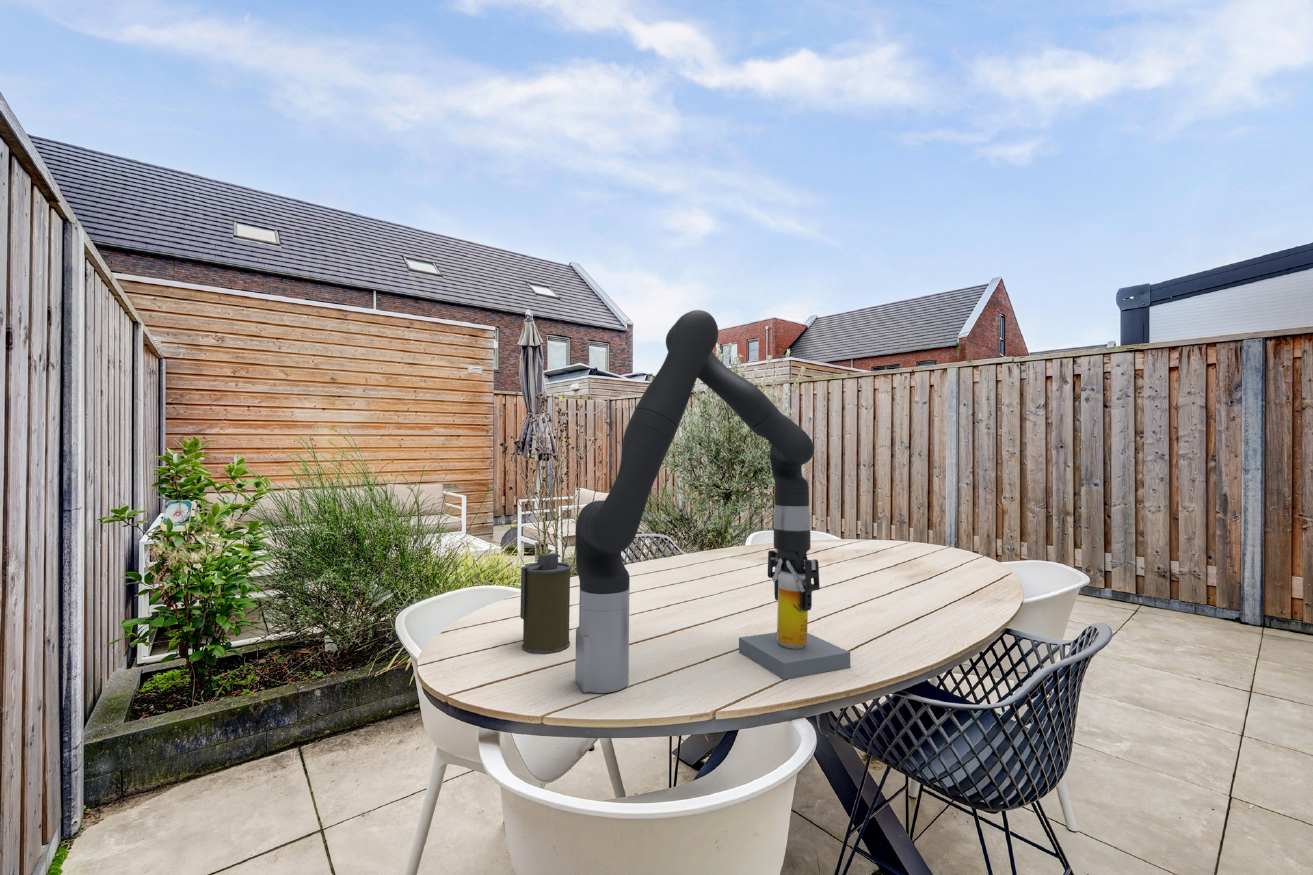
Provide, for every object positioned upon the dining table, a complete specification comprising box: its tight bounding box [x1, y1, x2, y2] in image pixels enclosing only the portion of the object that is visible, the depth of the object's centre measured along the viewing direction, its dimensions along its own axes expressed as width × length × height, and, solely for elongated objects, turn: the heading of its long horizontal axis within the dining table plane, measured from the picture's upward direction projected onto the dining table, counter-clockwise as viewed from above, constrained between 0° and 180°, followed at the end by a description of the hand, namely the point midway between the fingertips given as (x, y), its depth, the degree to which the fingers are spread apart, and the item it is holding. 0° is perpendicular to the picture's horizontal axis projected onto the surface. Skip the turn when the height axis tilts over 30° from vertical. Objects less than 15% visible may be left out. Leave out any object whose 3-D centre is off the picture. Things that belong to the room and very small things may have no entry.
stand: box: [738, 631, 851, 681], centre depth 110 cm, size 16×16×3 cm
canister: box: [519, 552, 572, 655], centre depth 118 cm, size 11×10×20 cm
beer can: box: [776, 570, 809, 649], centre depth 110 cm, size 6×6×15 cm
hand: (792, 604), depth 111 cm, fingers open, 8 cm apart
